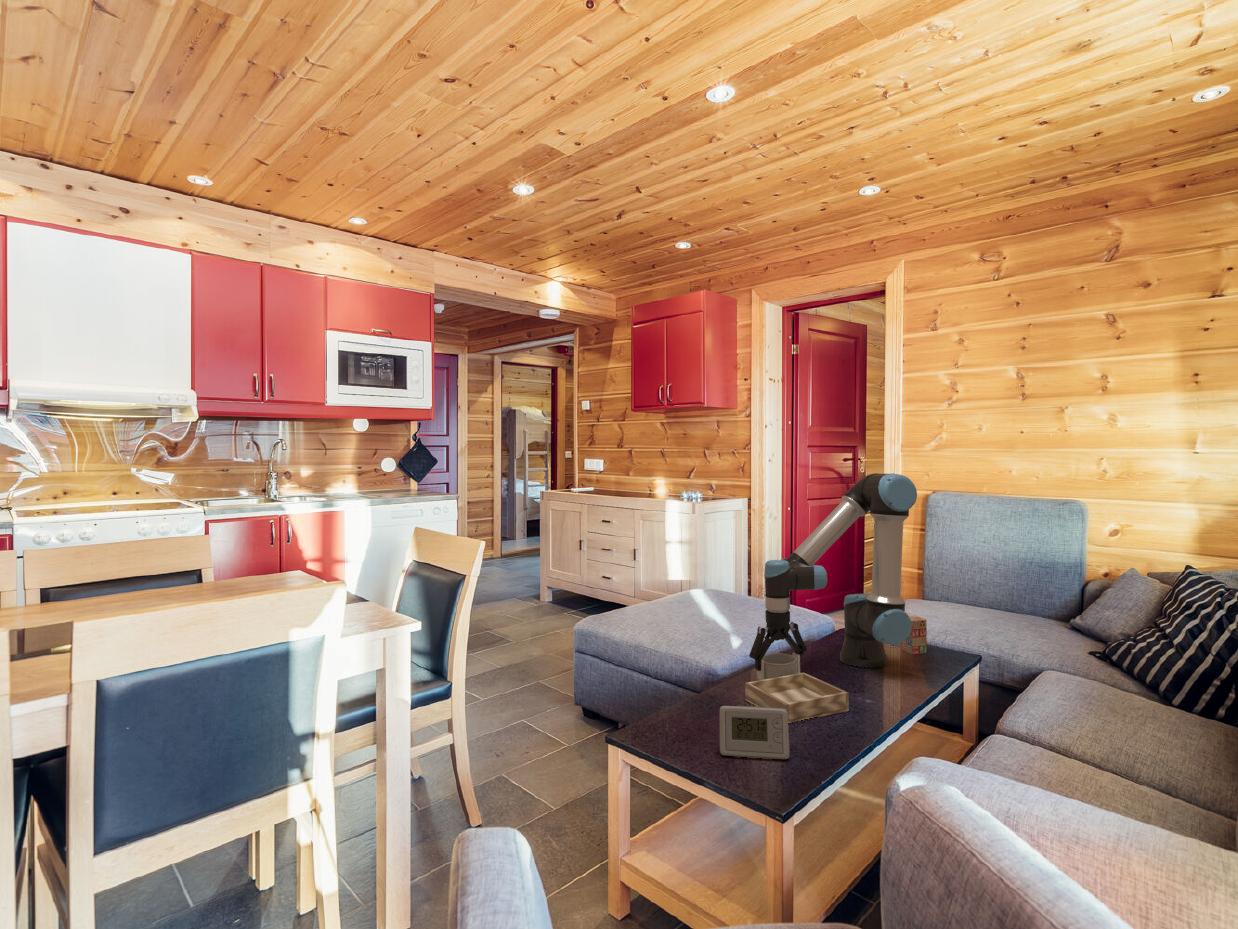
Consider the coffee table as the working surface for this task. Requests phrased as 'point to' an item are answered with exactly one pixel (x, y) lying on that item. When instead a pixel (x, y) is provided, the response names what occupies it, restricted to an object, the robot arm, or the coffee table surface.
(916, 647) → the stack of blocks
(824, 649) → the coffee table surface
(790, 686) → the walled box
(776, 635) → the robot arm
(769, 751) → the digital clock
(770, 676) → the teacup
